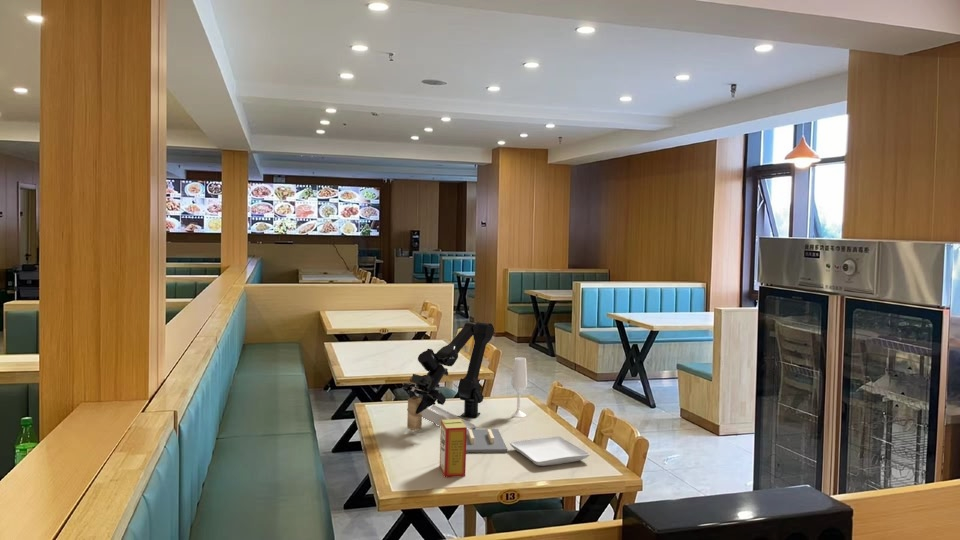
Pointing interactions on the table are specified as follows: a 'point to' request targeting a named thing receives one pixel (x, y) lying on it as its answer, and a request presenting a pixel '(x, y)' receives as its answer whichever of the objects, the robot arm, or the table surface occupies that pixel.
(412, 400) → the wooden board
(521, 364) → the champagne flute
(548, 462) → the salad plate
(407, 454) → the table surface
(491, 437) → the groove board
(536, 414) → the table surface
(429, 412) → the crown molding
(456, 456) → the baking soda box
